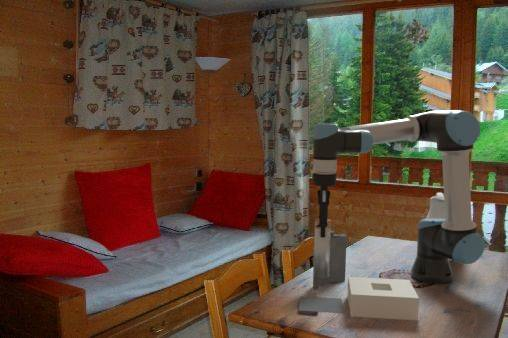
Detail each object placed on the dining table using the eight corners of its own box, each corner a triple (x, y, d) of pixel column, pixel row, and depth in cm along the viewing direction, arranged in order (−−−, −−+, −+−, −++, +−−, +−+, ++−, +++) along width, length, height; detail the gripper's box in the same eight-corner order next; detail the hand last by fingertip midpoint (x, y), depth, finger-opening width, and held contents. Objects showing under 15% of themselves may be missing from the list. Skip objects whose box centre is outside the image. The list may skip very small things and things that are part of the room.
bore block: (407, 302, 161) (409, 279, 160) (417, 323, 145) (419, 298, 144) (347, 299, 164) (348, 276, 163) (350, 319, 148) (351, 294, 147)
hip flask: (317, 289, 173) (318, 235, 170) (309, 286, 176) (310, 233, 173) (346, 280, 182) (348, 228, 180) (338, 277, 186) (340, 226, 183)
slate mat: (341, 301, 162) (341, 298, 162) (343, 316, 150) (343, 313, 150) (300, 299, 164) (300, 296, 164) (298, 313, 152) (298, 310, 152)
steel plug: (328, 272, 158) (330, 218, 156) (329, 278, 153) (331, 222, 151) (313, 272, 158) (315, 217, 156) (313, 277, 153) (314, 221, 151)
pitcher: (462, 265, 201) (466, 200, 198) (420, 261, 206) (423, 197, 203) (455, 250, 224) (459, 191, 221) (417, 247, 229) (420, 189, 226)
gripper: (312, 169, 161) (310, 236, 164) (312, 175, 143) (310, 251, 146) (335, 169, 160) (333, 237, 163) (337, 176, 142) (335, 252, 145)
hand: (322, 244), depth 154 cm, fingers closed on steel plug, 5 cm apart
